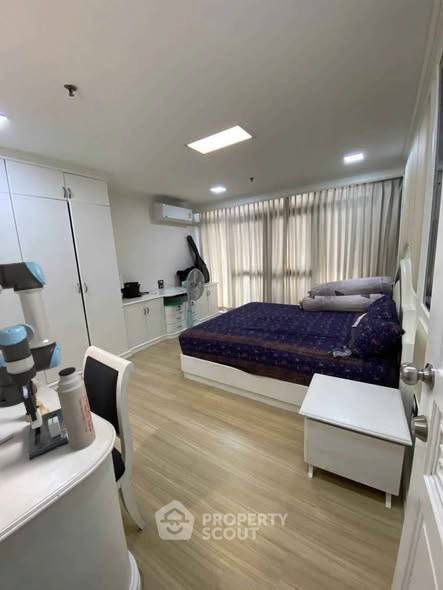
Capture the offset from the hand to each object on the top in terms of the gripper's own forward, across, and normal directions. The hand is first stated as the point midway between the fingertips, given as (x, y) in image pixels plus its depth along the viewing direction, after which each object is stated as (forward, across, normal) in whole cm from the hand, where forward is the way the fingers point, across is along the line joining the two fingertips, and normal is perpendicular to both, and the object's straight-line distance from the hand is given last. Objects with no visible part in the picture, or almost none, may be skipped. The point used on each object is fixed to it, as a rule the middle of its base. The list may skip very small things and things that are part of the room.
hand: (36, 426), depth 92 cm
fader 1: (+3, -4, 0) cm, 5 cm away
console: (+4, +2, +3) cm, 5 cm away
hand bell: (+4, -16, 0) cm, 16 cm away
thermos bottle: (+4, +16, +13) cm, 21 cm away
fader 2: (+3, +7, +5) cm, 10 cm away
